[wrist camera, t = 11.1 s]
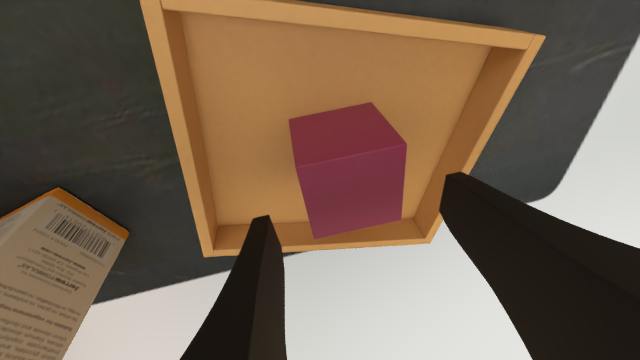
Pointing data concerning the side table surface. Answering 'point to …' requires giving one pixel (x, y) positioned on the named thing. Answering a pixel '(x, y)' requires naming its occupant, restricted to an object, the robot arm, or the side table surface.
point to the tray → (322, 105)
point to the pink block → (349, 169)
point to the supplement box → (51, 272)
